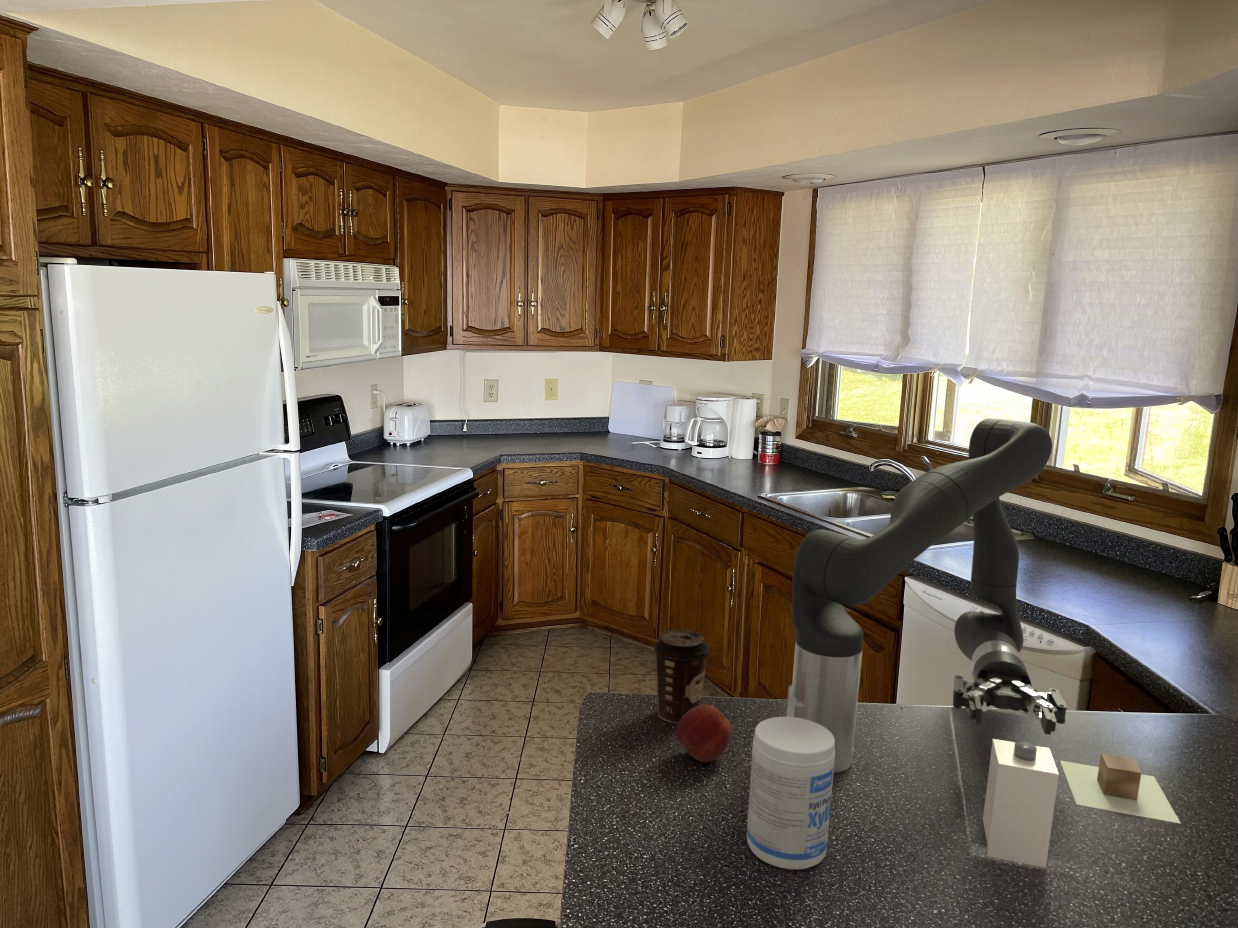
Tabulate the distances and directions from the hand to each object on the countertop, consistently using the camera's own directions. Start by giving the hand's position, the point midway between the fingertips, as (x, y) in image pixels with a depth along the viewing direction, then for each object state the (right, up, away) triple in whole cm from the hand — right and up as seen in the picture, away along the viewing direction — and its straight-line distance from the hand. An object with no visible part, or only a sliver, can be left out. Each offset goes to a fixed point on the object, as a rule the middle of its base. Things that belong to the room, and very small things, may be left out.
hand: (1013, 722), depth 114 cm
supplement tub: (-32, -12, -11) cm, 36 cm away
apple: (-40, -8, +9) cm, 42 cm away
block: (+15, -10, +3) cm, 19 cm away
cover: (-4, -12, -9) cm, 16 cm away
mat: (+15, -11, +3) cm, 19 cm away
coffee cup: (-43, -6, +22) cm, 48 cm away
